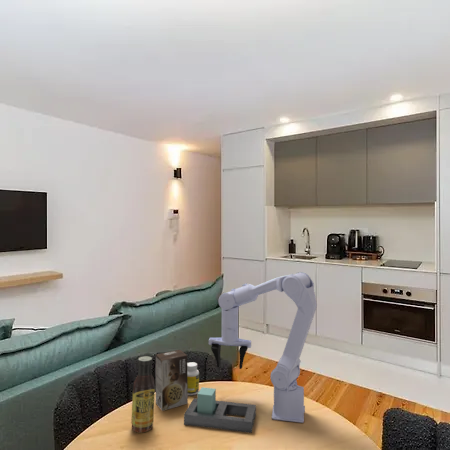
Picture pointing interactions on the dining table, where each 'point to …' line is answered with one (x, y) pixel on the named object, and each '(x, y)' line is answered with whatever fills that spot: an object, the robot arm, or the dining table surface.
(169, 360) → the coffee box
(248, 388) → the dining table surface
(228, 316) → the robot arm
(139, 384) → the sauce bottle
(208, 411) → the peg
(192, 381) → the supplement bottle
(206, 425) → the grey peg holder tray
